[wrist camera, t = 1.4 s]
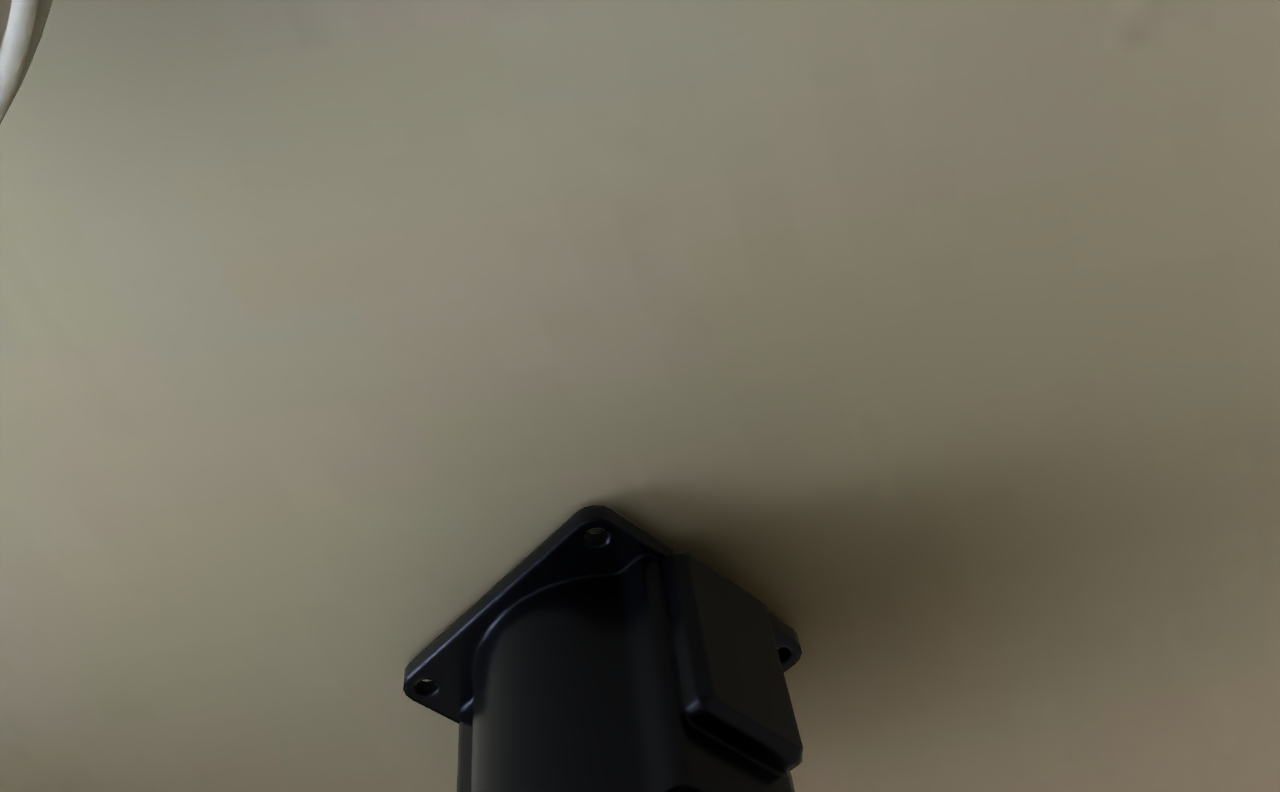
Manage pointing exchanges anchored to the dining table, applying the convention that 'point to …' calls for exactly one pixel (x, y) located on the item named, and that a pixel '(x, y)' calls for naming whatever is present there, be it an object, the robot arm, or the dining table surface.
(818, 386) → the dining table surface
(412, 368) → the dining table surface
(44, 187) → the dining table surface
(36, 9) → the flower pot
